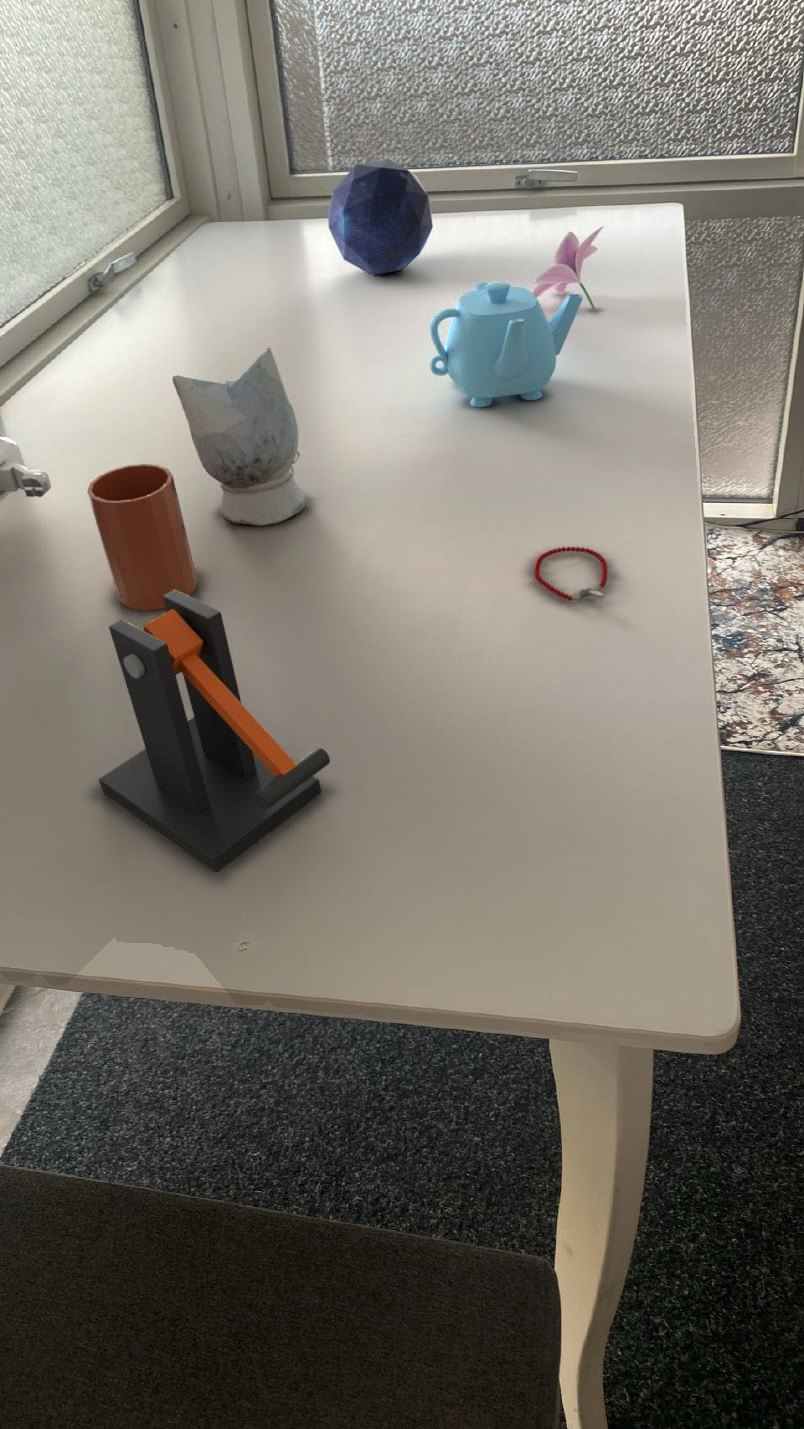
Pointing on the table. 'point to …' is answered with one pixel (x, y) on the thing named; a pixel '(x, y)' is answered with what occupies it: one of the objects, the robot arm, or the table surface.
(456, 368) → the teapot
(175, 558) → the cup
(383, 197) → the decorative orb
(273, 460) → the figurine
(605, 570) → the red beaded bracelet
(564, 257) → the lily
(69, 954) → the table surface
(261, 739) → the switch lever
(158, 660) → the pivoting lever stand
